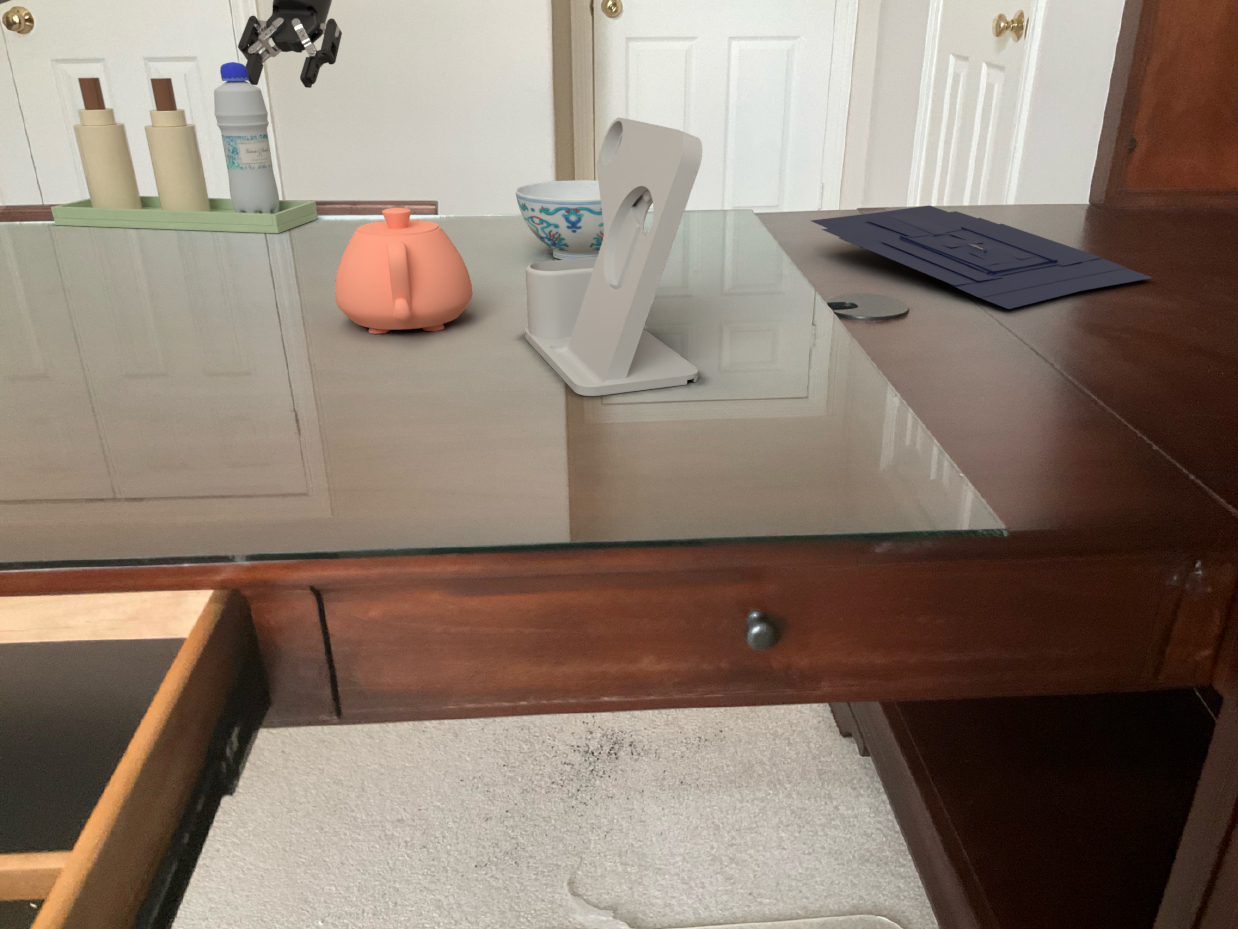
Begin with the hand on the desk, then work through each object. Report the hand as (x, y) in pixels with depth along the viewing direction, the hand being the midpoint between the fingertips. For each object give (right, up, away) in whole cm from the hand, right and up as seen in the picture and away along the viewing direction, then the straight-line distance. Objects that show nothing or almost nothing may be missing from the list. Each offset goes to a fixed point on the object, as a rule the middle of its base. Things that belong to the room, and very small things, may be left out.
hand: (277, 82), depth 133 cm
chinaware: (+45, -30, -21) cm, 58 cm away
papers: (+88, -33, -28) cm, 98 cm away
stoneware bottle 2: (-12, -19, -1) cm, 23 cm away
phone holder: (+48, -46, -56) cm, 87 cm away
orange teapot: (+30, -42, -48) cm, 70 cm away
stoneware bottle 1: (-23, -18, +1) cm, 30 cm away
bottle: (-2, -20, -3) cm, 20 cm away
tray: (-12, -20, -1) cm, 24 cm away
